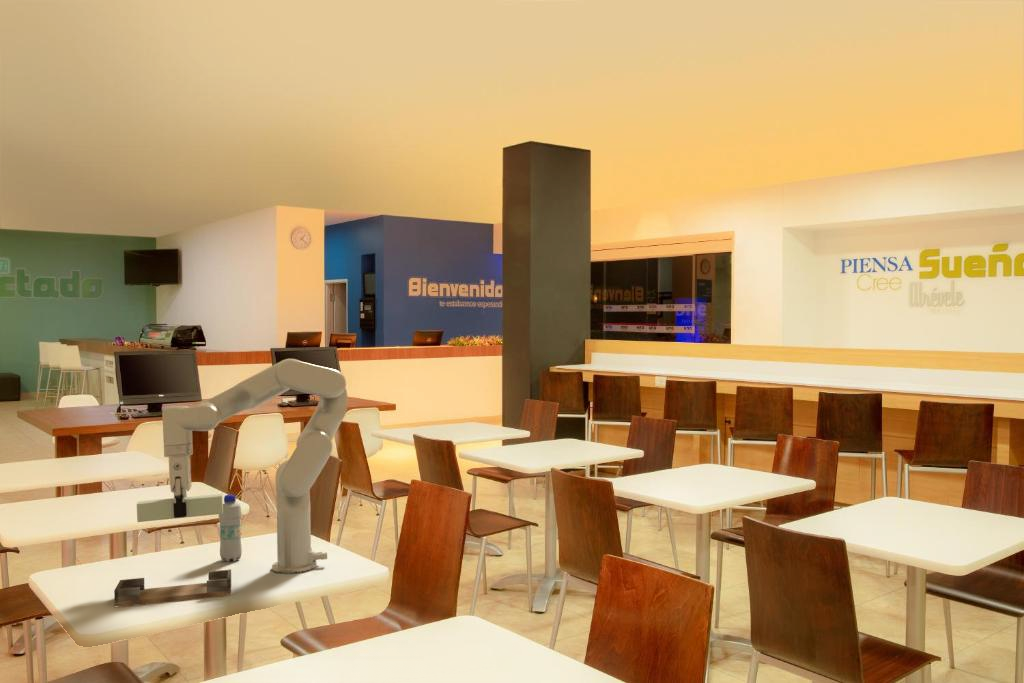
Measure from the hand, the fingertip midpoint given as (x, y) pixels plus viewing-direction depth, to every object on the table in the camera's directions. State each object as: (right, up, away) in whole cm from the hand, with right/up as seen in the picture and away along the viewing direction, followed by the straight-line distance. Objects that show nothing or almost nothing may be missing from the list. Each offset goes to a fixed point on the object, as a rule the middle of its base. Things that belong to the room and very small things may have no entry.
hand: (181, 514), depth 228 cm
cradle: (+4, -18, -14) cm, 24 cm away
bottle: (+7, -18, +20) cm, 28 cm away
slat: (0, 0, 0) cm, 0 cm away
